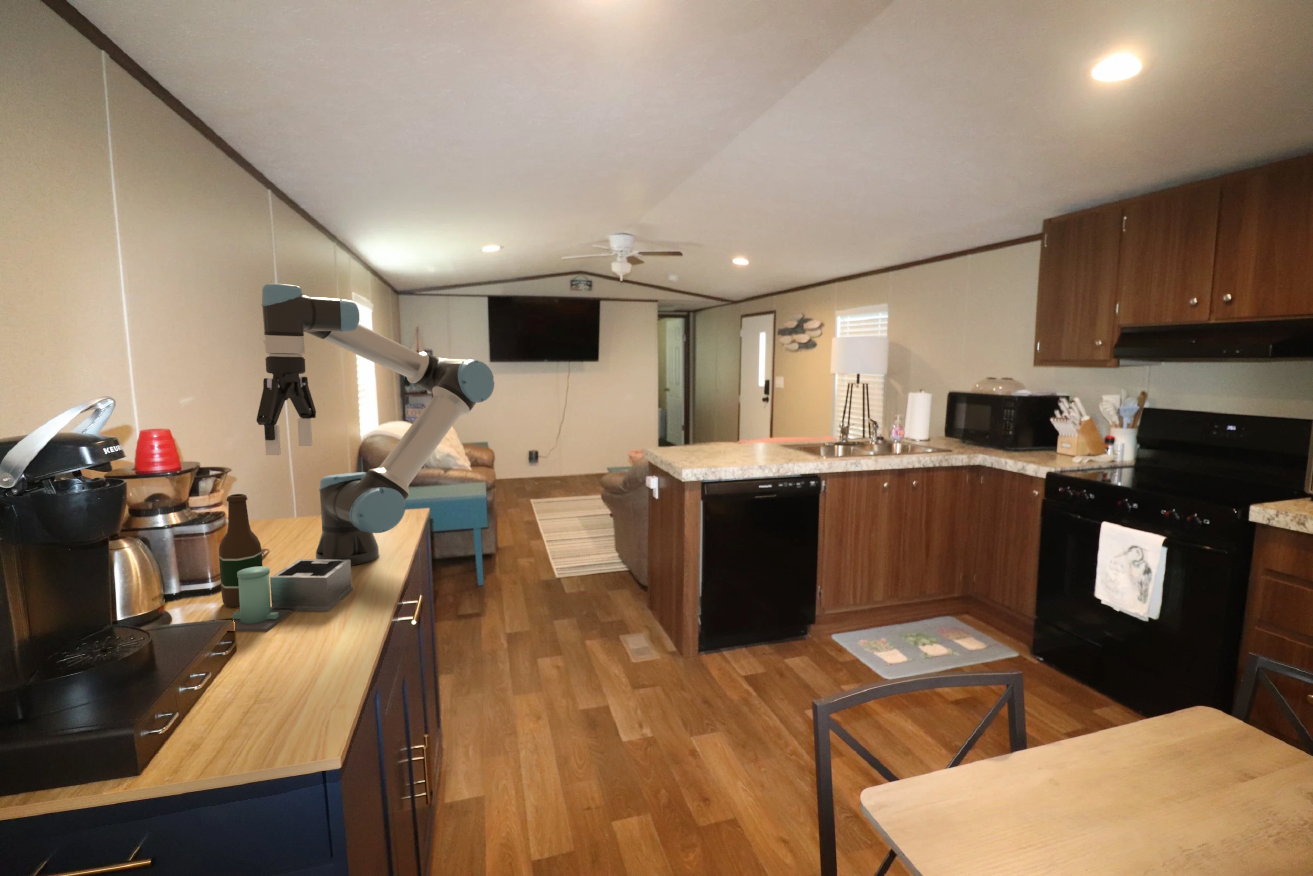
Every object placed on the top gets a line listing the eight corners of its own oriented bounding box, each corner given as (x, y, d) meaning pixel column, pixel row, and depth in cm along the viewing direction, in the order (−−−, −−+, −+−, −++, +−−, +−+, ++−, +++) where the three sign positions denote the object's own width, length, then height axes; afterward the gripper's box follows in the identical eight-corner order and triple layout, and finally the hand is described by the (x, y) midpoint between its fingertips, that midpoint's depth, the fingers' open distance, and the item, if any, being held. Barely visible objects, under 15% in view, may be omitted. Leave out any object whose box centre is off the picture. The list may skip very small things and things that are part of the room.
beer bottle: (273, 598, 137) (266, 493, 134) (239, 611, 130) (232, 500, 126) (247, 592, 139) (241, 489, 136) (213, 605, 132) (205, 497, 129)
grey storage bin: (299, 590, 142) (298, 559, 141) (353, 590, 142) (351, 559, 141) (270, 611, 130) (268, 577, 129) (328, 611, 130) (327, 578, 129)
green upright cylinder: (285, 613, 127) (282, 566, 126) (268, 624, 122) (266, 575, 121) (243, 613, 127) (241, 566, 126) (225, 624, 122) (222, 574, 121)
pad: (247, 612, 129) (246, 609, 129) (291, 612, 129) (291, 609, 129) (219, 631, 120) (219, 628, 120) (266, 631, 121) (266, 628, 120)
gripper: (297, 355, 148) (301, 442, 150) (232, 355, 123) (239, 458, 126) (329, 356, 148) (332, 442, 151) (271, 356, 123) (276, 459, 126)
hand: (290, 450), depth 138 cm, fingers open, 13 cm apart
